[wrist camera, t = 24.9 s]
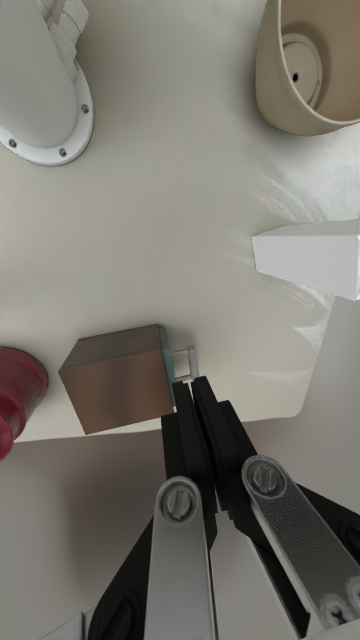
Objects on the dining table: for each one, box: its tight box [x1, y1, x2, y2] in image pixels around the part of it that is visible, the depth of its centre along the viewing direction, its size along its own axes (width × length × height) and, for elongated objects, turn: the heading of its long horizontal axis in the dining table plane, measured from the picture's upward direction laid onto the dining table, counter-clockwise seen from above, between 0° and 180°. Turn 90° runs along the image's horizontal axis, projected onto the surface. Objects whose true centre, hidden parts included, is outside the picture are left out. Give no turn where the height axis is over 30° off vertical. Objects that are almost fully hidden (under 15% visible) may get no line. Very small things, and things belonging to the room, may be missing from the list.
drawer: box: [158, 328, 199, 407], centre depth 35 cm, size 17×10×8 cm, turn 98°
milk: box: [251, 219, 360, 300], centre depth 26 cm, size 6×6×22 cm
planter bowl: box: [255, 0, 360, 136], centre depth 23 cm, size 16×16×11 cm
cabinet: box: [58, 324, 174, 435], centre depth 35 cm, size 14×12×10 cm
